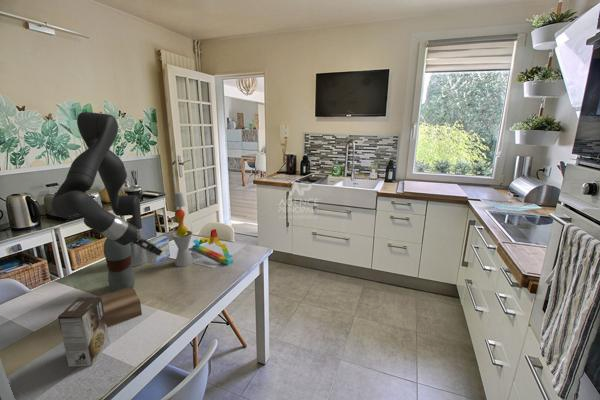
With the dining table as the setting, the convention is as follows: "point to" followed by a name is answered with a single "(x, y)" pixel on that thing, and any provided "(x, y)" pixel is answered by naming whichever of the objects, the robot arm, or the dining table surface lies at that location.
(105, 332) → the coffee box
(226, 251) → the rainbow clothes hanger
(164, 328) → the dining table surface
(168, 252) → the medicine box
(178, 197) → the lava lamp
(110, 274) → the bottle
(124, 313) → the walnut block
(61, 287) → the dining table surface
